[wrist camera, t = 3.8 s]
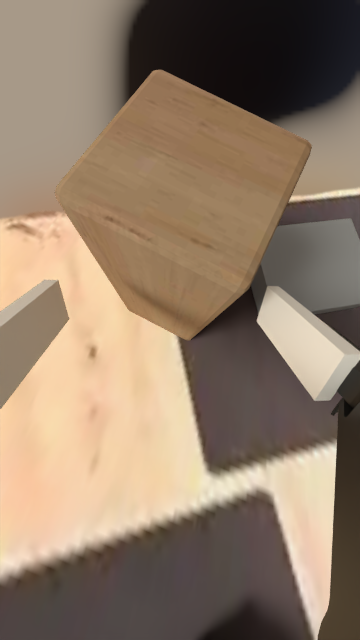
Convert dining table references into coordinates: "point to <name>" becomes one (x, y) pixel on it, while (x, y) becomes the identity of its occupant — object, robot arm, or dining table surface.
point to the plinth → (313, 265)
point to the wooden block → (182, 200)
